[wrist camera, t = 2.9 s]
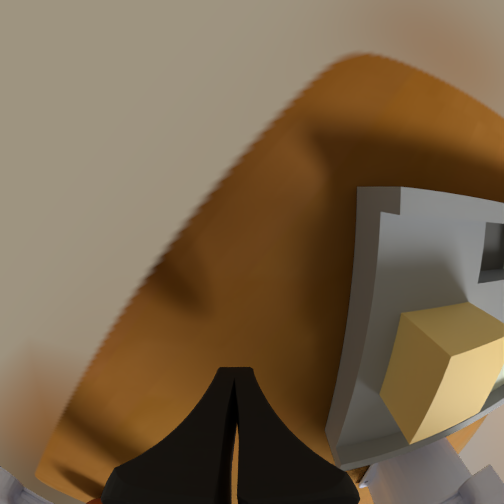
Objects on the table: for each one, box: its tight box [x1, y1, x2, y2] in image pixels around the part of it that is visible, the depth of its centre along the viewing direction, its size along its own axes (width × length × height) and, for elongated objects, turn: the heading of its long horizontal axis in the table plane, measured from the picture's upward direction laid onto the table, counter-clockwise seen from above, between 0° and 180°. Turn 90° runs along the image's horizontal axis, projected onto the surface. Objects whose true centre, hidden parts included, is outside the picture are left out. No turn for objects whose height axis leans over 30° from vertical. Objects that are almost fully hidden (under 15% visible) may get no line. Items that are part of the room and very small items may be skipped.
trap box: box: [325, 187, 504, 471], centre depth 12 cm, size 16×19×4 cm
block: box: [379, 302, 504, 445], centre depth 10 cm, size 5×5×4 cm
